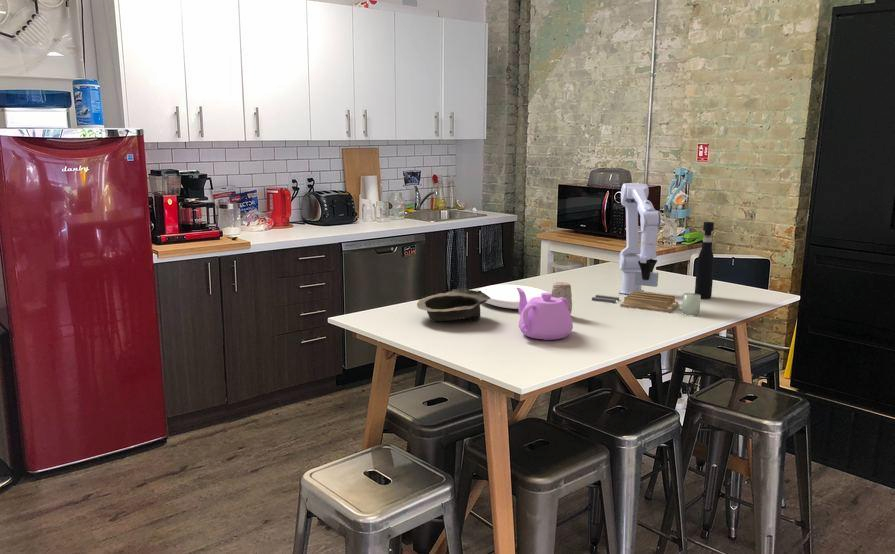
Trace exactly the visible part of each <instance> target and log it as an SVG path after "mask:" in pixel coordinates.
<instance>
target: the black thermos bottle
mask: <svg viewBox="0 0 895 554" xmlns="http://www.w3.org/2000/svg"><path fill="white" fill-rule="evenodd" d="M702 227H703V228H702V231H703V232H704V234H703V235H704V236H703V240H702V242H701V249H700V252H699V254H698V256H697V257H698V258H697V261H696V272H695V274H696V275H695V283H694V284H695V286H694V293H695V294H699V295H701V299H700V300H710V298H711V299H712V291H713V280H714V268H715V257H714V252H713V249H712V248H713V242H712V241H713V237H712V232H714V229H715V228H714V227H715V222H713V221H703V225H702Z"/></svg>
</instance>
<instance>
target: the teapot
mask: <svg viewBox="0 0 895 554" xmlns="http://www.w3.org/2000/svg"><path fill="white" fill-rule="evenodd" d="M517 290H518V292H519V295H520V301H519V309H518V314H519V319H518V328H519V330H520V332H521V333H522V334H524V336H526V337H528V338H532V339H535V340H536V339H537V340H542V339H543V341H550V340H551V341H552V340H560V339H564V338H566V337H567V336H568V335H569V334H571V332H572V331H573V328H574V325H573V324H574V323H573V319H572V315H571V314H570V312H569V310H568V305H569V304H568V301H567V299H565V298H562V297H561V298H555V297H552V292H548V293H541V295H542V297H534V298H532V299H530V301H529V302H528V303H527V299H526V295H525V292H524V291H523V290H522V289H520V288H517Z"/></svg>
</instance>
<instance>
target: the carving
mask: <svg viewBox="0 0 895 554" xmlns="http://www.w3.org/2000/svg"><path fill="white" fill-rule="evenodd" d="M551 294H552V297H555V298H561V297H562V298H565V299H567V301H568V304H569V305H568V310H569V312H570V315H571V314H572V312H573V311H572V310H573V299H572V295H573V294H572V286H571V284H570V283H568V282H565V281H557V282H554V283H553V284H552V287H551Z"/></svg>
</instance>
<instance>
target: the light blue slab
mask: <svg viewBox="0 0 895 554" xmlns="http://www.w3.org/2000/svg"><path fill="white" fill-rule="evenodd" d="M635 285H642V286H644V287H645V286H646V287H653V288H654V287H655V288H657V287H658V285H659V272H655V271H653V272H650V277H649V280H643V279H642V273H641V271H636V272H635Z"/></svg>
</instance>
